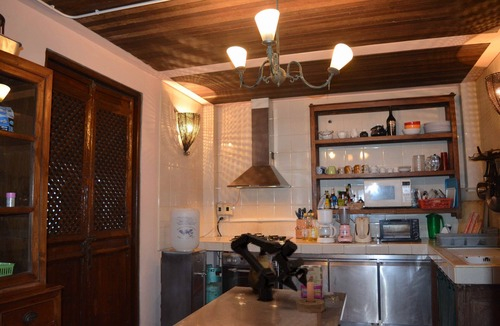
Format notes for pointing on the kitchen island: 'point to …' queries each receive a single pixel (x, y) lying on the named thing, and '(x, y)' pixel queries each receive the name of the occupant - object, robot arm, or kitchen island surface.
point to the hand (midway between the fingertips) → (303, 289)
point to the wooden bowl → (310, 306)
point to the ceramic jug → (265, 263)
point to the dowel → (310, 292)
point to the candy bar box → (316, 278)
